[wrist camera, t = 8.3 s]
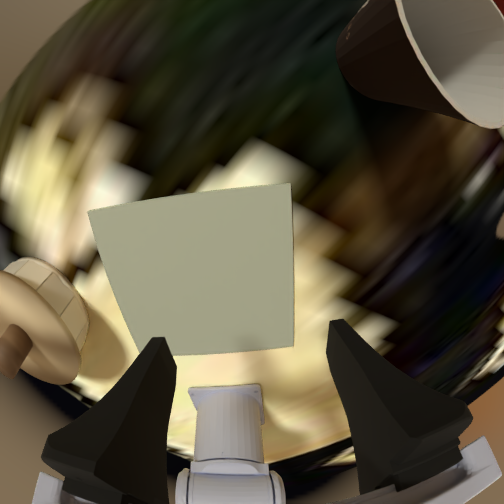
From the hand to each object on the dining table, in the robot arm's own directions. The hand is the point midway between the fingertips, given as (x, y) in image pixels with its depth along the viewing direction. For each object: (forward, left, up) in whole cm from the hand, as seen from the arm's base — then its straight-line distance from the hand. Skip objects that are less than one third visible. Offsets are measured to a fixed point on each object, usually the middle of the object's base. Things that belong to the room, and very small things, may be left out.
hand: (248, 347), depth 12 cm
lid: (-4, +21, -5) cm, 22 cm away
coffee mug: (+14, -12, -10) cm, 21 cm away
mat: (-3, +4, -10) cm, 11 cm away
